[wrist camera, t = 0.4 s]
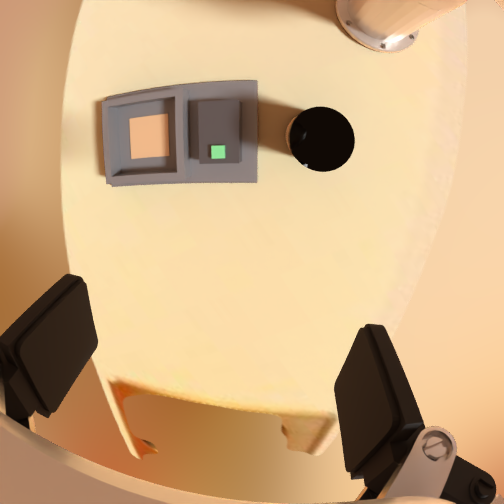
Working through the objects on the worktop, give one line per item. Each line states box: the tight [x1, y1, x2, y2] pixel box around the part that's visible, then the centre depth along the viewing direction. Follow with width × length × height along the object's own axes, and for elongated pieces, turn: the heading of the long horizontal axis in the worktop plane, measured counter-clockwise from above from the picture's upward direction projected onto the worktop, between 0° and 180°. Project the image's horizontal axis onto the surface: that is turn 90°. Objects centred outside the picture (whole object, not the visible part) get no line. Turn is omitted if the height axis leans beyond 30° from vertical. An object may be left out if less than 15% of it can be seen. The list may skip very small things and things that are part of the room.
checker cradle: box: [102, 80, 258, 187], centre depth 35 cm, size 14×22×5 cm, turn 90°
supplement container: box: [286, 107, 355, 172], centre depth 31 cm, size 7×7×10 cm
